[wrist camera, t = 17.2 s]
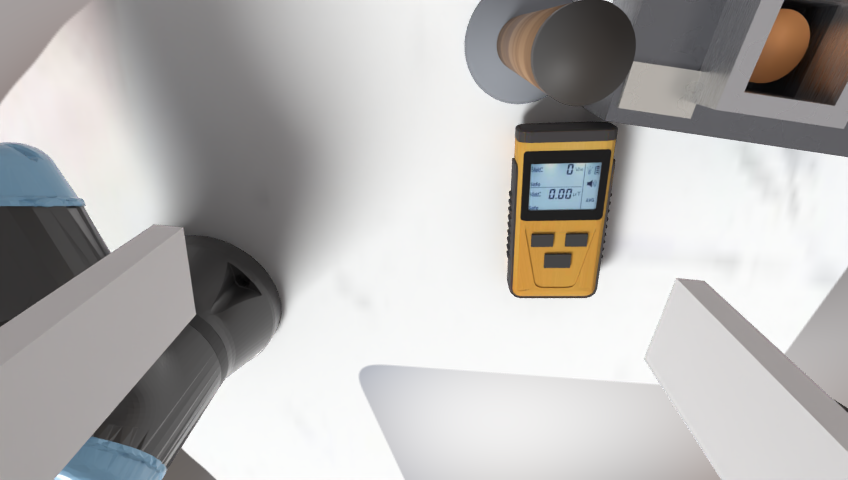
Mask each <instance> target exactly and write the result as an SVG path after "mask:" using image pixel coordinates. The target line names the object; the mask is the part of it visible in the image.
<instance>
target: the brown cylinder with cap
mask: <svg viewBox="0 0 848 480" xmlns="http://www.w3.org/2000/svg"><path fill="white" fill-rule="evenodd" d="M635 51H636V38H635V32H634V29H633V26H632V24H631V21H630V20H629V18H628V17H627V15H626V14H625V13H624V12H623V11H622V10H621V9H620V8H619V7H617V6H616V5H614V4H613V3H610V2H608V1H604V0H581V1H576V2H572V3H568V4H564V5H560V6H556V7H552V8H548V9H544V10H539V11H535V12H531V13H527V14H523V15H519V16H516V17H514V18H512V19H510V20H509V21H508V22H507V23H506V24H505V25H504V26H503V27H502V29H501V30H500V32H499V35H498V38H497V53H498V56H499V58H500V60H501V61H502V63H503V64H504V65H505V66H506V67H508V68H509V69H511V70H512V71H514V72H515V73H517V74H518V75H519V76H521V77H522V78H524V79H525V80H527V81H528V82H530V83H531V84H532V85H534V86H535V87H537V88H538V89H540V90H541V91H543V92H544V93H546V94H547V95H548V96H550V97H551V98H553V99H554V100H556V101H558V102H560V103H563V104H566V105H571V106H584V105H589V104H593V103H596V102H598V101H600V100H602V99H604V98H606V97H607V96H609V95H610V94H611V93H613V92H614V91H615V90H616V89H617V88H618V87H619V86H620V85H621V84H622V82H623V81H624V80H625V78H626V77H627V75H628V73H629V71H630V69H631V67H632V64H633V61H634V57H635Z"/></svg>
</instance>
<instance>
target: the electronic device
mask: <svg viewBox="0 0 848 480" xmlns="http://www.w3.org/2000/svg"><path fill="white" fill-rule="evenodd" d="M617 130H618V128H617V127H616V126H615V125H613V124H612V123H609V122H568V123H537V124H520V125H517V126H516V131H515V158H512V178H511V191H509V195H510V199H509V204H510V206H509V207H508V210H509V213H510V214H509V215H508V219H509V222H508V227H509V229H508V230H507V232H508V237H507V240H508V244H507V249H508V251H507V257H508V273H507V281H508V286H509V290H510V292H511V293H512V294H513V295H514V296H515V297H518V298H587V297H591V296H592V295H593V294H595V292H596V290H597V285H598V278H599V271H600V264H601V258H602V257H603V255H602V251H603V250H604V248H603V244H604V243H605V240H604V236H605V235H606V233H605V229H606V228H607V225H606V222H607V220H608V217H607V216H608V212H609V205H610V203H611V202H610V197H611V196H612V194H611V188H612V181H613V174H614V167H615V159H614V158H613V157H614V150H615V143H616V137H617Z"/></svg>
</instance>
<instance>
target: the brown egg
mask: <svg viewBox="0 0 848 480" xmlns="http://www.w3.org/2000/svg"><path fill="white" fill-rule="evenodd" d="M809 40H810V29H809V25H808V23H807V21H806V19H805V18H804V16H802V15H801V14H800V13H799V12H797V11H795V10H791V9H780V11H779V13H778V15H777V18H776V20H775V22H774V24H773V27H772V29H771V31H770V34H769V36H768V38H767V41H766V43H765V45H764V47H763V50H762V52H761V54H760V57H759V59H758V61H757V63H756V66H755V68H754V70H753V73H752V75H751V77H750V79H749V82H754V83H768V82H772V81H775V80H777V79H780V78H781V77H783V76H785V75H786V74H788V73H789V72H790V71H792V70H793V69H794V68H795V67H796V66H797V64H798V63H799V62H800V61H801V59H802V58H803V56H804V54H805V52H806V50H807V48H808V44H809Z"/></svg>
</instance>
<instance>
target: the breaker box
mask: <svg viewBox="0 0 848 480" xmlns="http://www.w3.org/2000/svg"><path fill="white" fill-rule="evenodd" d="M613 4H614V5H616V6H617V7H619V8H620V9H621V10H622V11H623V12H624V13H625V14H626V15H627V17H628V18H629V20H630V21H631V24H632V26H633V29H634V32H635V38H636V51H635V57H634V61H633V64H632V67H631V69H630V71H629V73H628V75H627V77H626V78H625V80H624V81H623V82H622V84H621V85H620V86H619V87H618V88H617V89H616V90H615V91H614V92H613V93H611V94H610V95H609V96H607V97H606V98H604V99H602V100H600V101H598V102H596V103H593V104H589V105H584V106H583V108H585V109H587V110H588V111H590V112H592V113H593V114H595V115H596V116H598V117H600V118H601V119H603V120H605V121H610V122H617V123H623V124H630V125H637V126H644V127H650V128H657V129H664V130H670V131H677V132H684V133H690V134H697V135H704V136H710V137H717V138H724V139H730V140H737V141H744V142H750V143H757V144H764V145H770V146H777V147H784V148H791V149H797V150H804V151H811V152H817V153H824V154H831V155H837V156H844V157H848V0H613ZM780 9H791V10H795V11H797V12H799V13H800V14H801V15H802V16H804V18H805V19H806V21H807V23H808V25H809V29H810V40H809V44H808V48H807V50H806V52H805V54H804V56H803V58H802V59H801V61H800V62H799V63H798V64H797V66H796V67H795V68H794V69H793V70H792V71H790V72H789V73H788V74H786V75H785V76H783V77H781V78H780V79H777V80H775V81H772V82H768V83H754V82H749V79H750V77H751V75H752V73H753V70H754V68H755V66H756V63H757V61H758V59H759V57H760V54H761V52H762V50H763V47H764V45H765V43H766V41H767V38H768V36H769V34H770V31H771V29H772V27H773V24H774V22H775V20H776V18H777V15H778V13H779V11H780Z"/></svg>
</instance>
